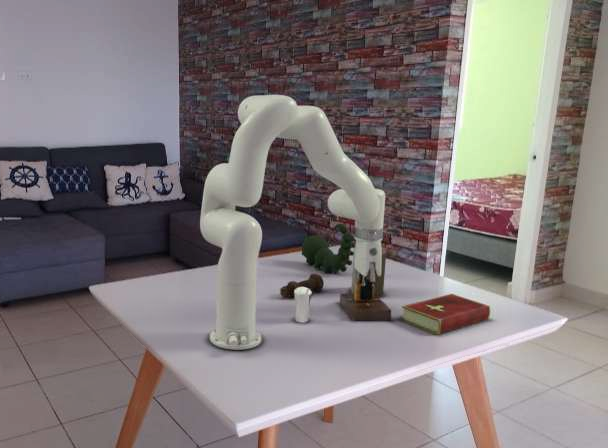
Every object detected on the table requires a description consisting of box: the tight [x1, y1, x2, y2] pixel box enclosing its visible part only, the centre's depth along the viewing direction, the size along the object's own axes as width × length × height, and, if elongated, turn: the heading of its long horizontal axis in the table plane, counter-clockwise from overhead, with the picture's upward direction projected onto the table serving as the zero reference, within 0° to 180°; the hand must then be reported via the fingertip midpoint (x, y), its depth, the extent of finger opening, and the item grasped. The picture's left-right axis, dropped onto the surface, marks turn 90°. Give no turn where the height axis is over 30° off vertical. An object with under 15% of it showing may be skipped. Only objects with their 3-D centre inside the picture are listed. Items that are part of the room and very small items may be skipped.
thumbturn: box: [354, 283, 375, 301], centre depth 158 cm, size 5×2×5 cm, turn 92°
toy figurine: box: [301, 223, 356, 274], centre depth 197 cm, size 9×19×25 cm
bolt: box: [279, 273, 325, 298], centre depth 171 cm, size 6×5×15 cm
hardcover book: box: [400, 293, 491, 336], centre depth 152 cm, size 12×21×4 cm, turn 121°
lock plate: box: [339, 292, 392, 322], centre depth 158 cm, size 14×10×3 cm
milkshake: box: [294, 287, 313, 324], centre depth 149 cm, size 4×5×10 cm
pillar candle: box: [350, 247, 387, 298], centre depth 172 cm, size 10×10×15 cm
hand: (364, 296), depth 158 cm, fingers closed
